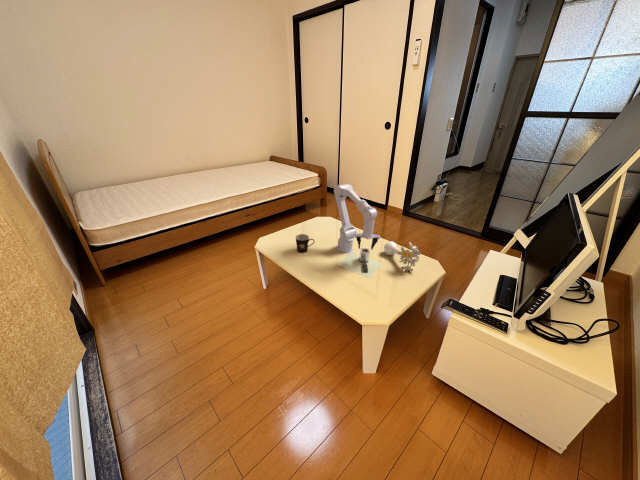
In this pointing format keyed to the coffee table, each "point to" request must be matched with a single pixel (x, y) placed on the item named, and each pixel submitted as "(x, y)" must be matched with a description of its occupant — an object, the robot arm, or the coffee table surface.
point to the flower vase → (403, 253)
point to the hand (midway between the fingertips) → (365, 248)
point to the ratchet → (364, 265)
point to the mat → (359, 265)
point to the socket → (364, 254)
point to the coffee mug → (302, 243)
